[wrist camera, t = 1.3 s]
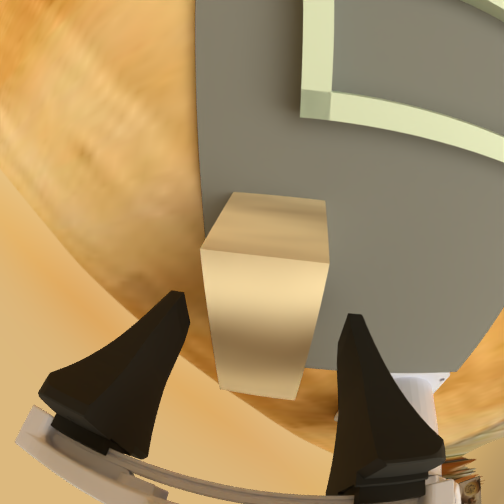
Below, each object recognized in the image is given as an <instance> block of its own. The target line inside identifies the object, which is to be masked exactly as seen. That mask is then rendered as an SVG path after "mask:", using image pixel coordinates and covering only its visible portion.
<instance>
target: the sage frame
mask: <svg viewBox="0 0 504 504" xmlns="http://www.w3.org/2000/svg"><path fill="white" fill-rule="evenodd" d="M461 1H463V2H465V3H468V4H470V5H472V6H474V7H476V8H478V9H480V10H482V11H484V12H486V13H488V14H490V15H492V16H494V17H495V18H497V19H499V20H501V21H503V22H504V0H461ZM333 49H334V0H303V53H302V82H301V105H300V117H303V118H313V119H322V120H330V121H338V122H346V123H352V124H359V125H365V126H371V127H376V128H382V129H387V130H392V131H397V132H402V133H406V134H411V135H415V136H419V137H423V138H427V139H431V140H435V141H439V142H443V143H446V144H450V145H453V146H457V147H460V148H463V149H467V150H470V151H473V152H476V153H479V154H482V155H485V156H488V157H490V158H493V159H496V160H499V161H501V162H504V136H502V135H500V134H498V133H495V132H493V131H490V130H488V129H485V128H483V127H480V126H477V125H475V124H472V123H469V122H466V121H463V120H460V119H457V118H454V117H451V116H448V115H445V114H441V113H438V112H434V111H431V110H427V109H424V108H420V107H416V106H412V105H408V104H404V103H399V102H395V101H390V100H386V99H381V98H375V97H370V96H364V95H358V94H352V93H346V92H338V91H331V90H332V72H333Z"/></svg>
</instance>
